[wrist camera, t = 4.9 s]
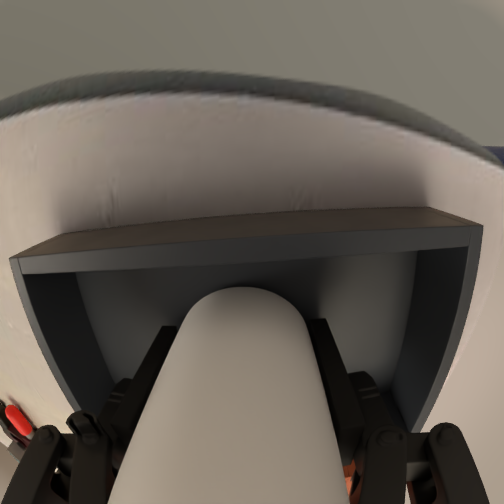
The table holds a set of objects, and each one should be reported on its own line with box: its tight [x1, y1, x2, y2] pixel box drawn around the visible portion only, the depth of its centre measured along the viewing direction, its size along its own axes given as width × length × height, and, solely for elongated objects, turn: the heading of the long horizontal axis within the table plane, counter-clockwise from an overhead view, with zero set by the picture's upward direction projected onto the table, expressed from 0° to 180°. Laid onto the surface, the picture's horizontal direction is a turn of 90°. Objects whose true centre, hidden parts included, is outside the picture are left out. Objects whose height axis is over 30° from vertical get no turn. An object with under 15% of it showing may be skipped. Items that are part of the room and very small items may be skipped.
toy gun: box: [0, 403, 57, 468], centre depth 18 cm, size 10×12×5 cm
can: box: [108, 287, 350, 504], centre depth 8 cm, size 6×6×12 cm
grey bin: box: [9, 207, 483, 433], centre depth 12 cm, size 20×13×4 cm, turn 94°
